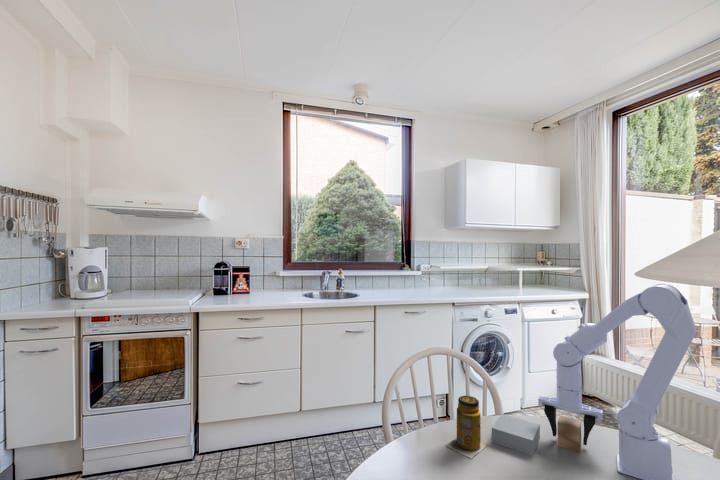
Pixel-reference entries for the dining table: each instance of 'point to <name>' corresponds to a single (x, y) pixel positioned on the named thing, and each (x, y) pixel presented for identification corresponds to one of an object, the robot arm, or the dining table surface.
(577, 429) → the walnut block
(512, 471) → the dining table surface
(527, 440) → the slate box
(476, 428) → the condiment
